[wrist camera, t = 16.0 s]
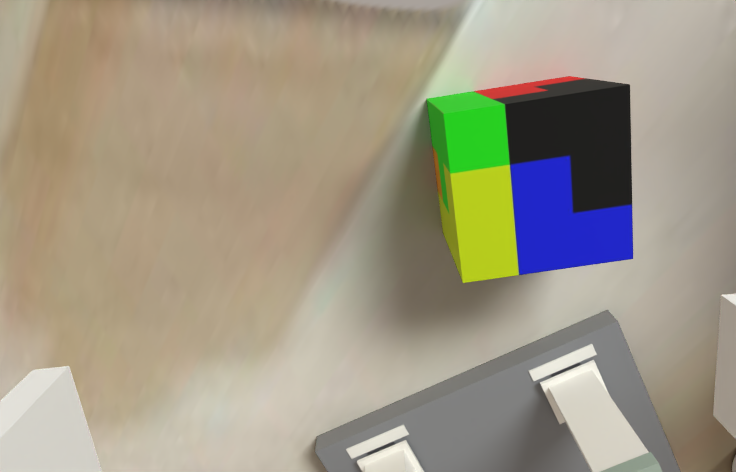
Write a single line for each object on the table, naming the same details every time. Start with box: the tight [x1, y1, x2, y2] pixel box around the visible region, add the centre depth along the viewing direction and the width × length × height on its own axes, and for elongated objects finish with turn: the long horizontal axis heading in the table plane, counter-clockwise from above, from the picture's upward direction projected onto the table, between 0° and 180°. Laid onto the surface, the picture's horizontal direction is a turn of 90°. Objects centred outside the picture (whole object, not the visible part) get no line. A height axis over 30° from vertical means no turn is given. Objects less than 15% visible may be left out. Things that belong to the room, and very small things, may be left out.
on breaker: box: [540, 360, 662, 472], centre depth 40 cm, size 4×4×11 cm
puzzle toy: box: [427, 76, 633, 283], centre depth 38 cm, size 10×10×10 cm
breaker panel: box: [315, 310, 681, 472], centre depth 49 cm, size 16×26×2 cm, turn 117°
